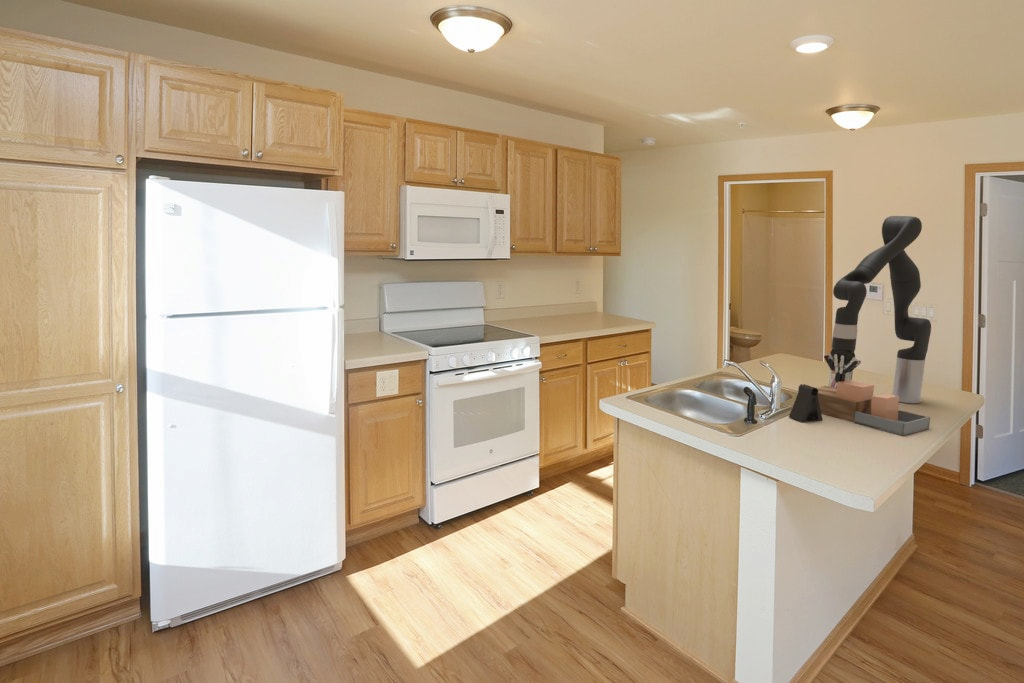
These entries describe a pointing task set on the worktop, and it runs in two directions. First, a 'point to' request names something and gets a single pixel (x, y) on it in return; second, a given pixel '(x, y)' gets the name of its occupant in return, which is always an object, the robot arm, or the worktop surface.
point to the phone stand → (806, 405)
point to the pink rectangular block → (855, 390)
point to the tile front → (885, 406)
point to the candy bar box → (832, 377)
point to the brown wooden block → (841, 404)
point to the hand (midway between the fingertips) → (839, 382)
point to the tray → (895, 422)
